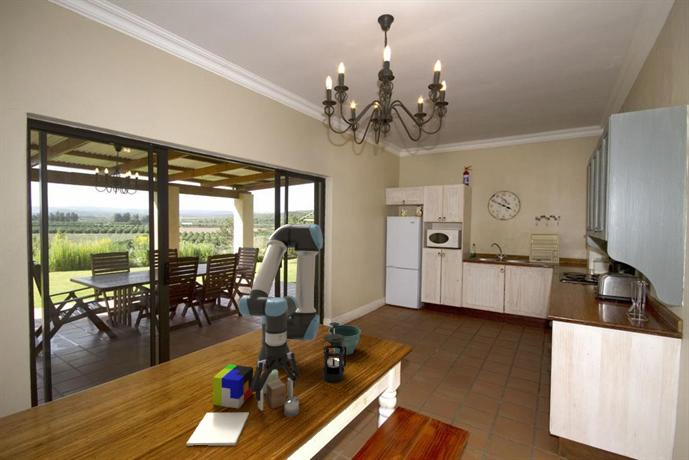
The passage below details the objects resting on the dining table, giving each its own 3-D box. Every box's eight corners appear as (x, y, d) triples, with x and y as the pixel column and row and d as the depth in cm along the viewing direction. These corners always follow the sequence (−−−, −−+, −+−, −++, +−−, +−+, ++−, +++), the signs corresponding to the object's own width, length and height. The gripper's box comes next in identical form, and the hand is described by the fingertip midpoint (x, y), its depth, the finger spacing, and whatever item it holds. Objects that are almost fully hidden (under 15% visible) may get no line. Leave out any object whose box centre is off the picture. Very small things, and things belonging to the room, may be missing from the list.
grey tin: (281, 411, 105) (281, 399, 105) (294, 405, 108) (294, 394, 108) (288, 418, 101) (288, 406, 101) (301, 412, 105) (301, 401, 104)
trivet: (186, 445, 89) (186, 442, 89) (206, 415, 103) (206, 412, 103) (235, 445, 89) (235, 442, 89) (248, 414, 103) (248, 412, 103)
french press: (331, 386, 122) (331, 329, 121) (316, 377, 128) (317, 323, 128) (352, 376, 130) (352, 322, 129) (337, 368, 136) (338, 317, 136)
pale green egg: (259, 389, 119) (259, 371, 118) (273, 384, 122) (273, 367, 122) (266, 396, 114) (266, 378, 114) (280, 391, 118) (280, 373, 118)
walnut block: (266, 402, 110) (266, 383, 110) (278, 397, 113) (279, 379, 113) (272, 409, 106) (272, 389, 106) (285, 403, 110) (285, 384, 109)
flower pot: (366, 349, 157) (366, 328, 156) (349, 361, 143) (349, 338, 143) (339, 342, 165) (340, 322, 165) (321, 353, 152) (322, 331, 151)
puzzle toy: (238, 408, 106) (238, 380, 106) (213, 404, 108) (213, 377, 108) (252, 392, 116) (252, 367, 116) (229, 389, 118) (229, 364, 118)
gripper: (248, 354, 99) (248, 420, 100) (309, 338, 114) (308, 395, 114) (240, 346, 105) (239, 409, 105) (299, 332, 119) (298, 387, 120)
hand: (275, 402), depth 110 cm, fingers open, 11 cm apart
